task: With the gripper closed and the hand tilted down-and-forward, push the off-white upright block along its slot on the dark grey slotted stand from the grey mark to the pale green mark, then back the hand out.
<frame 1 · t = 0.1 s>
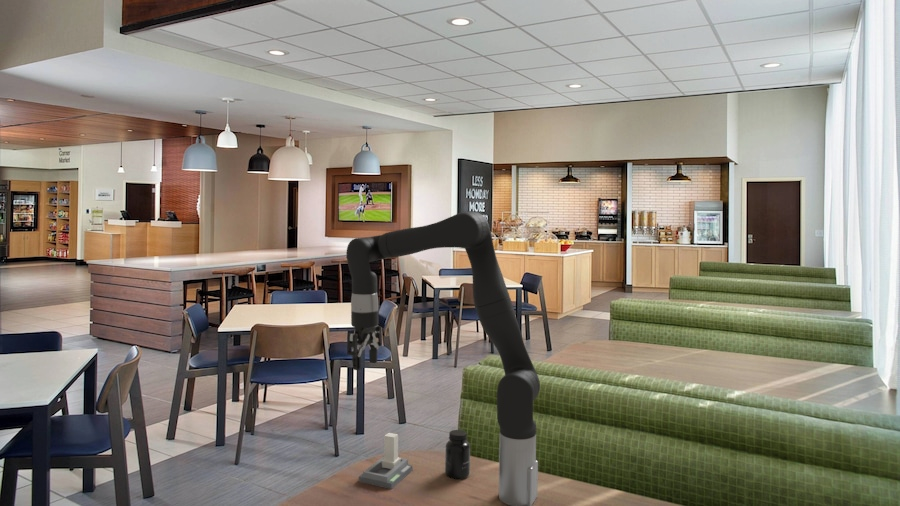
hand: (365, 366, 171), 29 cm above the table, tool pointing down, fingers open, 8 cm apart
grey slotted stand: (386, 476, 168), on the table
block: (391, 450, 170), point 6 cm above the table, slide at 0.0 cm
supplement bottle: (457, 475, 169), on the table
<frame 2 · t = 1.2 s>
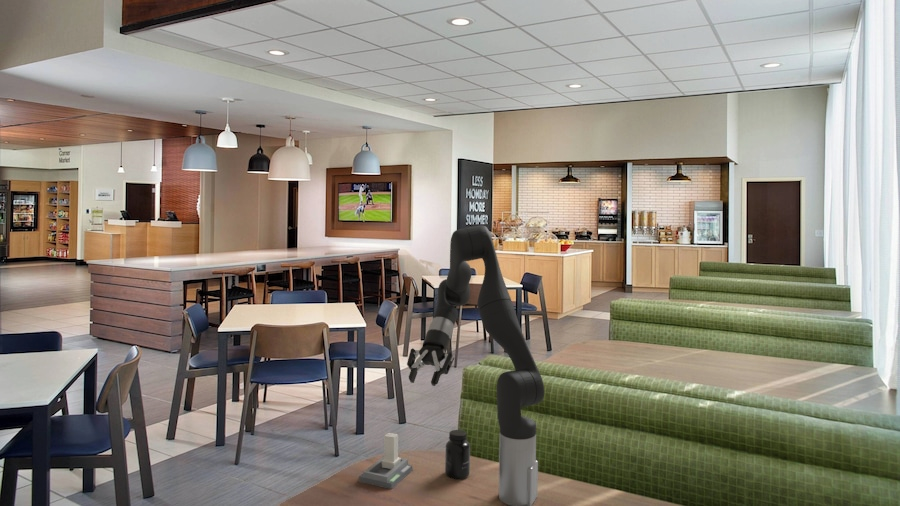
hand: (422, 382, 178), 22 cm above the table, tool tilted 45°, fingers open, 6 cm apart
nothing on the table moved.
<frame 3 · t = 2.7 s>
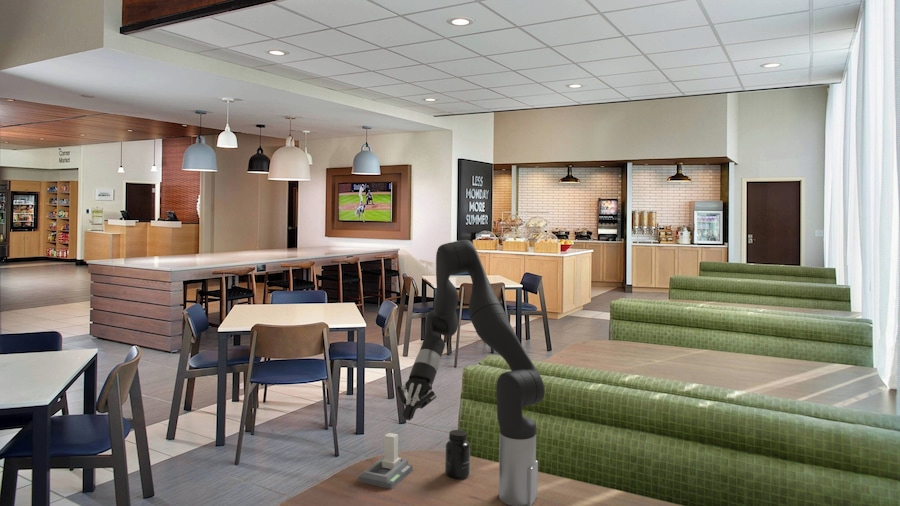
hand: (406, 419, 178), 12 cm above the table, tool tilted 45°, fingers closed
nothing on the table moved.
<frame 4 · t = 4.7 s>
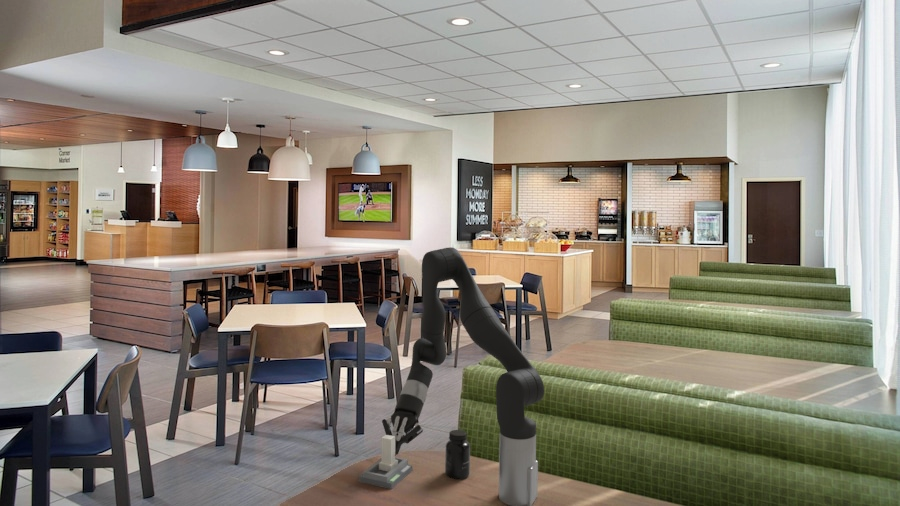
hand: (391, 454, 170), 5 cm above the table, tool tilted 45°, fingers closed
block: (388, 452, 168), point 6 cm above the table, slide at 1.6 cm, touching gripper
everything else where it was.
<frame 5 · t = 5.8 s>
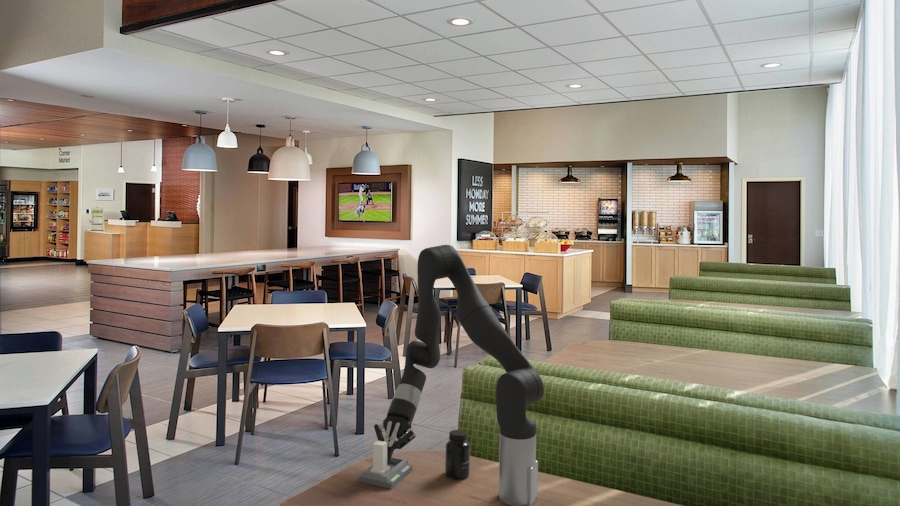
hand: (383, 461, 166), 5 cm above the table, tool tilted 45°, fingers closed
block: (380, 458, 164), point 6 cm above the table, slide at 6.1 cm, touching gripper, grey slotted stand
everything else where it was.
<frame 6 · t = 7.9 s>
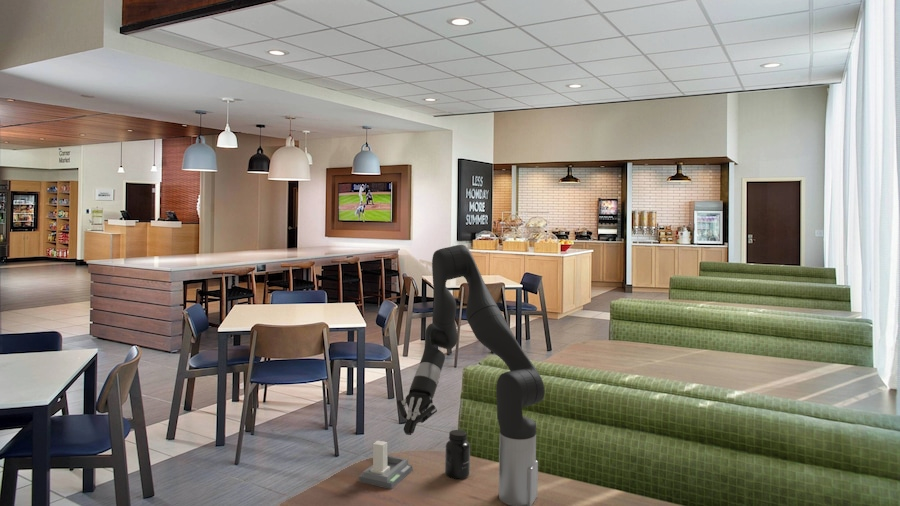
hand: (407, 433, 176), 8 cm above the table, tool tilted 45°, fingers closed
block: (380, 458, 164), point 6 cm above the table, slide at 6.0 cm
everything else where it was.
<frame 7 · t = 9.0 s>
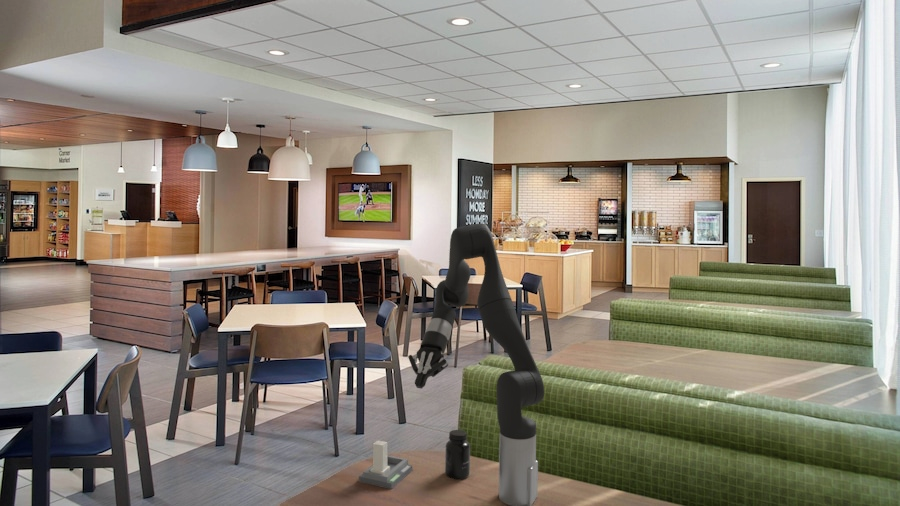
hand: (418, 387, 176), 22 cm above the table, tool tilted 45°, fingers closed
nothing on the table moved.
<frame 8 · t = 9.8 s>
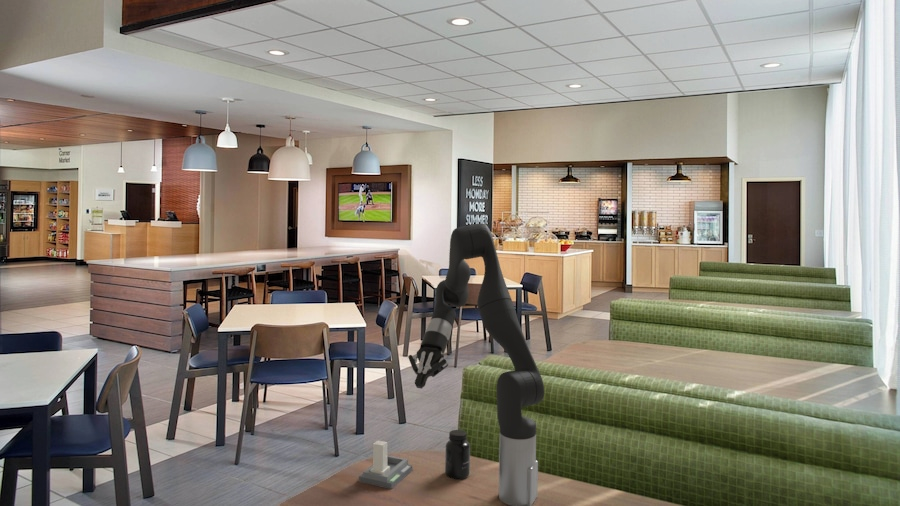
hand: (418, 387, 176), 22 cm above the table, tool tilted 45°, fingers closed
nothing on the table moved.
at the end: block slide at 6.0 cm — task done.
